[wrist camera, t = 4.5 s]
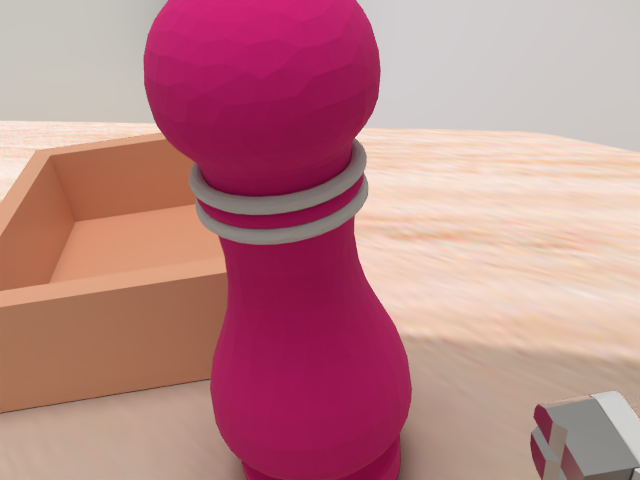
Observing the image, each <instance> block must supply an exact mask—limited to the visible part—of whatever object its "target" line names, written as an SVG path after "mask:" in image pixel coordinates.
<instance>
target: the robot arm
mask: <svg viewBox="0 0 640 480" xmlns="http://www.w3.org/2000/svg"><path fill="white" fill-rule="evenodd" d="M534 419H535V421H536V423H537V424H538V426H537V427H536V428H535V429H534V430H533V431H532V432H531V442H530V446H531V451H532V457H533V461H534V464H535V466H536V469H537V471H538V473H539V476H540V478H541V480H640V419H639V418H638V416H637V415H636V414H635V412H634V411H633V410H632V408H631V407H630V405H629V404H628V403H627V401H626V400H625V399H624V397H623V396H622V395H621V394H620V393H618V392H617V391H609V392H604V393H598V394H593V395H589V396H588V395H583V396H578V397H573V398H568V399H562V400H557V401H552V402H547V403H542V404H538V405H537V406H536V408H535V412H534Z"/></svg>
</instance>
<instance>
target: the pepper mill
mask: <svg viewBox="0 0 640 480" xmlns="http://www.w3.org/2000/svg"><path fill="white" fill-rule="evenodd" d="M380 72H381V71H380V60H379V51H378V47H377V43H376V40H375V37H374V33H373V30H372V27H371V24H370V22H369V20H368V18H367V16H366V14H365V13H364V11H363V9H362V8H361V6H360V5H359V4H358V3H357V1H356V0H168V2H167V3H166V4H165V6H164V7H163V8H162V10H161V11H160V12H159V14H158V15H157V17H156V18H155V20H154V22H153V24H152V27H151V29H150V31H149V34H148V37H147V42H146V48H145V53H144V85H145V89H146V94H147V98H148V102H149V105H150V108H151V111H152V114H153V117H154V120H155V122H156V124H157V126H158V128H159V129H160V131H161V132H162V133H163V135H164V136H165V138H166V139H167V141H168V142H169V143H170V144H171V145H173V146H174V147H175V148H176V149H177V150H178V151H179V152H181V153H182V154H184V155H185V156H187V157H188V158H190V159H191V160H193V161H194V163H193V165H192V167H191V170H190V173H189V178H188V179H189V185H190V188H191V190H192V192H193V193H194V194H195V195H196V197H197V199H196V212H197V215H198V217H199V220H200V221H201V223H202V224H203V225H204V226H205V227H206V228H207V229H208V230H209V231H211V232H213V233H215V234H217V235H218V237H219V240H220V243H221V247H222V250H223V253H224V257H225V264H226V271H227V278H228V297H227V310H226V314H225V318H224V322H223V326H222V329H221V332H220V335H219V339H218V342H217V345H216V348H215V352H214V355H213V361H212V371H211V385H210V391H211V397H212V403H213V408H214V414H215V419H216V424H217V426H218V428H219V431H220V433H221V436H222V437H223V439H224V440H225V442H226V443H227V445H228V446H229V448H230V449H231V451H232V452H233V453H234V454H235V455H236V456H237V457H238V458H239V459H241V461H242V464H243V468H244V471H245V475H246V479H247V480H397V477H398V475H399V469H400V461H401V454H400V431H401V429H402V427H403V425H404V423H405V421H406V419H407V416H408V412H409V407H410V403H411V393H412V387H411V380H410V373H409V366H408V359H407V355H406V352H405V349H404V346H403V344H402V341H401V339H400V336H399V334H398V331H397V329H396V327H395V325H394V323H393V321H392V320H391V318H390V316H389V315H388V313H387V312H386V310H385V309H384V307H383V306H382V304H381V303H380V301H379V299H378V298H377V296H376V295H375V293H374V292H373V290H372V288H371V286H370V285H369V283H368V281H367V279H366V277H365V275H364V272H363V270H362V267H361V264H360V261H359V259H358V253H357V247H356V242H355V236H354V216H355V214H356V213H357V212H358V211H359V210H360V209H361V207H362V206H363V204H364V202H365V201H366V199H367V196H368V182H367V179H366V176H365V175H364V170H365V167H366V153H365V150H364V148H363V146H362V145H361V144H360V143H359V142H358V140H356V139H355V137H356V136H357V134H358V133H359V132H360V131H361V129H362V128H363V127H364V125H365V124H366V123H367V121H368V119H369V118H370V116H371V114H372V113H373V110H374V108H375V105H376V101H377V99H378V93H379V82H380Z"/></svg>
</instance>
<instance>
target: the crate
mask: <svg viewBox="0 0 640 480" xmlns="http://www.w3.org/2000/svg"><path fill="white" fill-rule="evenodd" d="M193 163H194V161H193V160H191V159H190V158H188V157H187V156H185V155H184V154H182V153H181V152H179V151H178V150H177V149H176V148H175V147H174V146H173V145H171V144H170V143H169V142H168V141H167V139H166V138H165V136H164V135H163V133H156V134H149V135H142V136H135V137H128V138H121V139H114V140H107V141H100V142H93V143H86V144H78V145H71V146H64V147H57V148H50V149H43V150H36V151H35V153H34V154H33V156H32V157H31V159H30V160H29V162H28V163H27V165H26V166H25V168H24V169H23V171H22V172H21V174H20V175H19V177H18V178H17V180H16V181H15V183H14V184H13V186H12V187H11V189H10V190H9V192H8V193H7V195H6V196H5V198H4V199H3V200H2V202H1V203H0V413H2V412H8V411H14V410H21V409H27V408H33V407H39V406H45V405H51V404H57V403H64V402H70V401H76V400H82V399H88V398H94V397H101V396H107V395H113V394H119V393H125V392H131V391H137V390H144V389H150V388H156V387H162V386H168V385H174V384H180V383H187V382H193V381H199V380H205V379H211V371H212V361H213V355H214V352H215V348H216V345H217V342H218V339H219V335H220V332H221V329H222V326H223V322H224V318H225V314H226V310H227V297H228V278H227V271H226V264H225V257H224V253H223V250H222V247H221V243H220V240H219V237H218V235H217V234H215V233H213V232H211V231H209V230H208V229H207V228H206V227H205V226H204V225H203V224H202V223H201V221H200V220H199V217H198V215H197V212H196V199H197V197H196V195H195V194H194V193H193V192H192V190H191V188H190V185H189V179H188V178H189V173H190V170H191V167H192V165H193Z"/></svg>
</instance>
